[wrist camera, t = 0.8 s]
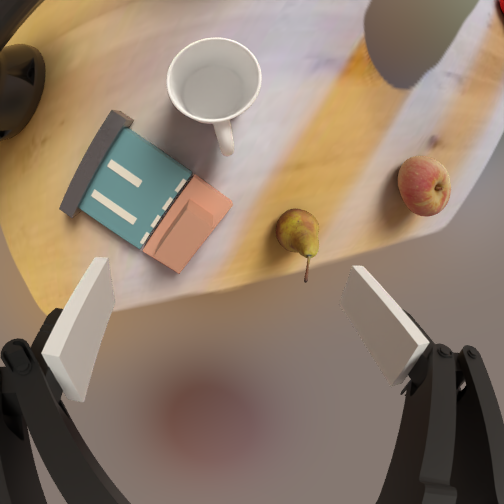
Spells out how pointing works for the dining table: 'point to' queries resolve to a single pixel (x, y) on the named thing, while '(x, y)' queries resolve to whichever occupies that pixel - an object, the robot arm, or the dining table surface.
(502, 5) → the tomato
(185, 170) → the striped teal tile
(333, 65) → the dining table surface
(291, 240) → the fruit
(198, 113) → the mug
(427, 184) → the apple
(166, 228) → the stub
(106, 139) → the grey end rail
